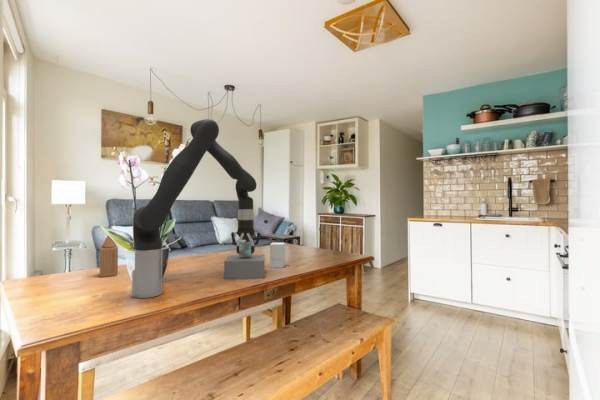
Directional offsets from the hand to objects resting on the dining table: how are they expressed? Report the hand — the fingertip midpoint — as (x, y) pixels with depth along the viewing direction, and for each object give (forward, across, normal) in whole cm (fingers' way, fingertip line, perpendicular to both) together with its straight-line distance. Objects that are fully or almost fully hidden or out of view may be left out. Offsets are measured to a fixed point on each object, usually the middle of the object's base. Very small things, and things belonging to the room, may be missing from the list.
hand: (245, 253), depth 143 cm
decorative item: (+10, -64, +4) cm, 65 cm away
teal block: (+1, 0, 0) cm, 1 cm away
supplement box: (+10, +16, +16) cm, 25 cm away
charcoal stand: (+10, 0, 0) cm, 10 cm away
